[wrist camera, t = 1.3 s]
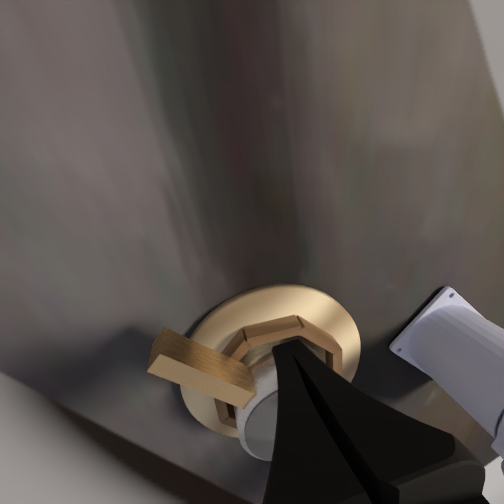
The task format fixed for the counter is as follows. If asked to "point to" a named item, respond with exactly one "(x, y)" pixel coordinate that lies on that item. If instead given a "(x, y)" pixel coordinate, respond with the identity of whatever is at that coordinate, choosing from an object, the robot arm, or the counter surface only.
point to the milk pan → (227, 382)
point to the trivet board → (263, 311)
